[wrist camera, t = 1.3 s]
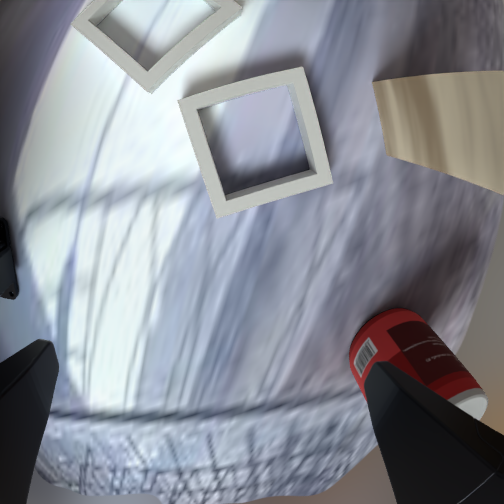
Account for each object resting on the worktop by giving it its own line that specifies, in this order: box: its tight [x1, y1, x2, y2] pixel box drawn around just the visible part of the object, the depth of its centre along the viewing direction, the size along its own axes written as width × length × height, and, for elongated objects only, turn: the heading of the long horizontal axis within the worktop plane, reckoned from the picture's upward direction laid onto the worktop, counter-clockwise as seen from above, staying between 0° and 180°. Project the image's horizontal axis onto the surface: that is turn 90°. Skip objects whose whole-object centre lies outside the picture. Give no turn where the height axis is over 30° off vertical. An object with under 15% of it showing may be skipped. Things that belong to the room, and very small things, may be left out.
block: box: [372, 71, 504, 195], centre depth 12 cm, size 5×5×13 cm
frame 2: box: [177, 67, 333, 218], centre depth 17 cm, size 7×7×2 cm
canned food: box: [349, 308, 488, 420], centre depth 21 cm, size 8×8×11 cm
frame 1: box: [71, 0, 242, 94], centre depth 13 cm, size 7×7×2 cm
